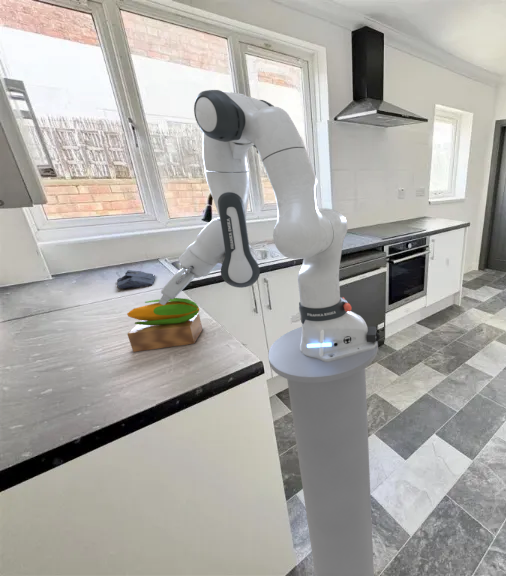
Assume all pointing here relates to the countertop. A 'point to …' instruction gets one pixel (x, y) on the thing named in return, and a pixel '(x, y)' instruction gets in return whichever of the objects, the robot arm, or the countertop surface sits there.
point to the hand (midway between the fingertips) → (167, 297)
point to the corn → (165, 312)
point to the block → (164, 335)
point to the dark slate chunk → (135, 279)
